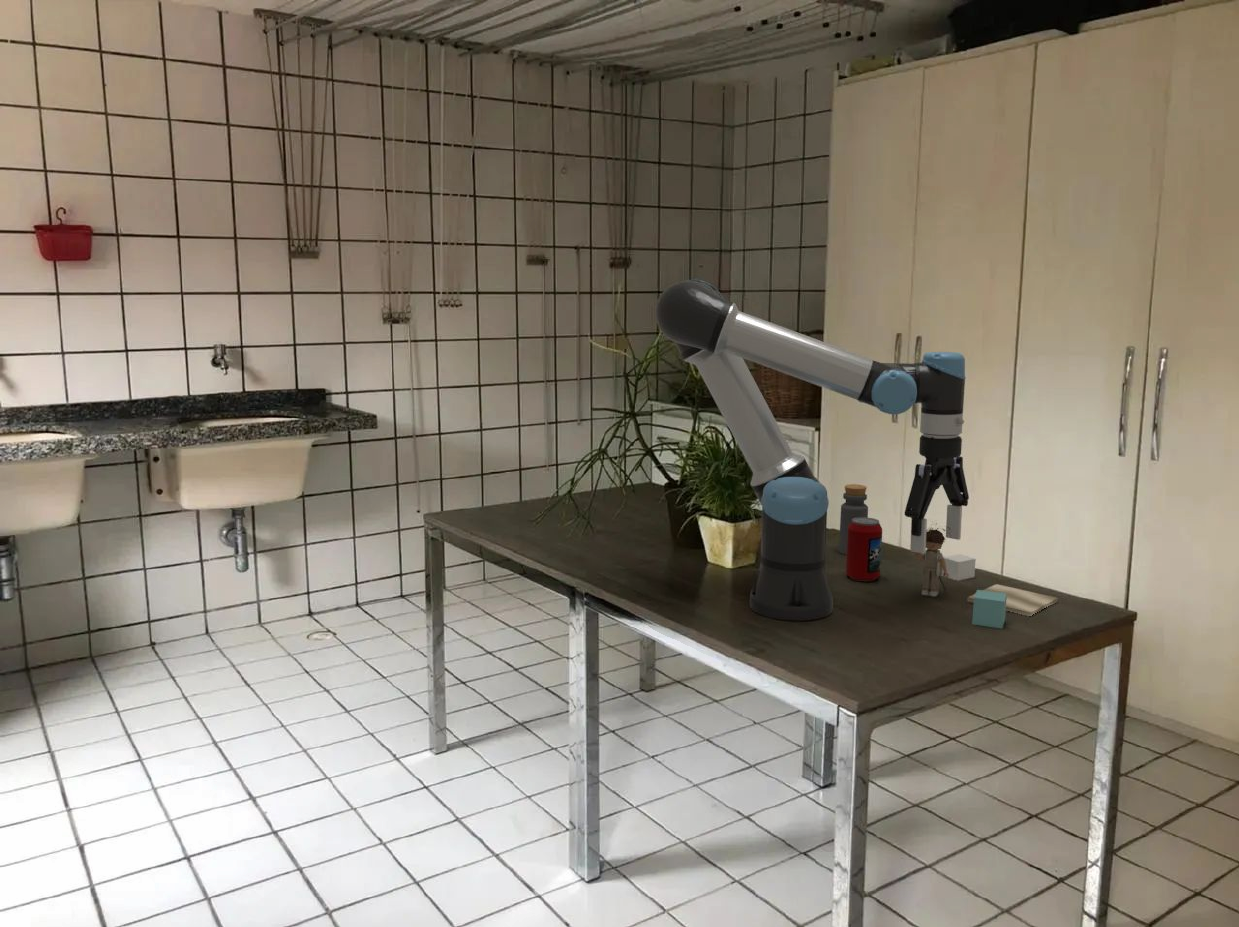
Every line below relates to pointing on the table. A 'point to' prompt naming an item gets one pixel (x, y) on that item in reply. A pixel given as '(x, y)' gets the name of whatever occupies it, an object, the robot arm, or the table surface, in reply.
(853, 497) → the bottle
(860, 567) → the beverage can
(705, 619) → the table surface
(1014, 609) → the board
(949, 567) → the white block
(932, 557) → the toy
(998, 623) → the teal block
